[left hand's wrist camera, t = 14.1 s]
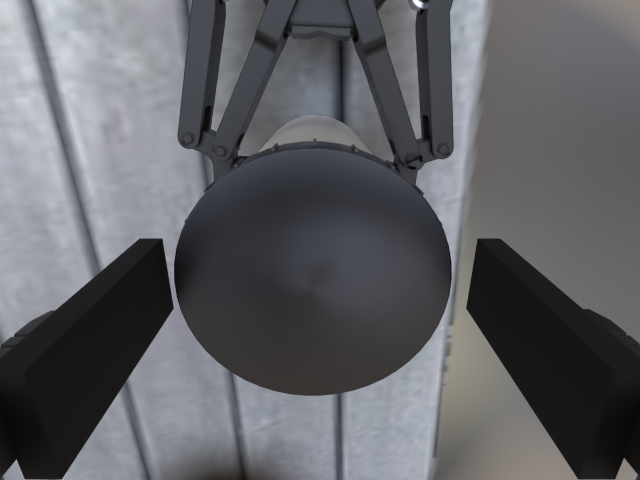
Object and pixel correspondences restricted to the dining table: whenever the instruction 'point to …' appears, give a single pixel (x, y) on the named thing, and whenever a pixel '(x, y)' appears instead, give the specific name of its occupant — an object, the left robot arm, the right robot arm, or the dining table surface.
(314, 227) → the lid
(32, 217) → the dining table surface
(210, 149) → the right robot arm
